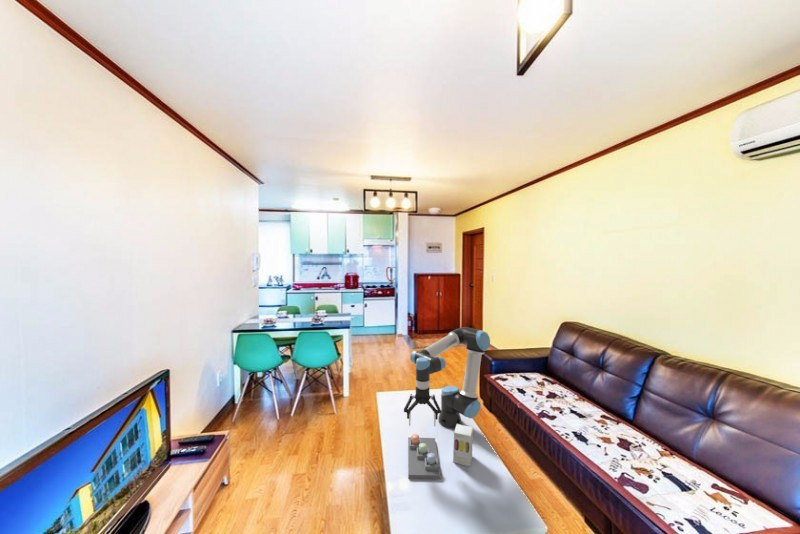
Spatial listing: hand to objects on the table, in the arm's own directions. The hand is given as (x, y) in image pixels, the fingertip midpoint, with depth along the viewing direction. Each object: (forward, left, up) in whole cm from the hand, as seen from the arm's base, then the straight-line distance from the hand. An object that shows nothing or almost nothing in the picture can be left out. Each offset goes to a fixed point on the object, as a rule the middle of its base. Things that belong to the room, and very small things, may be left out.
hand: (422, 424), depth 162 cm
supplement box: (-23, 0, -19) cm, 30 cm away
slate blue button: (-5, +8, -15) cm, 18 cm away
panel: (-1, 0, -19) cm, 19 cm away
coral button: (+3, -8, -15) cm, 17 cm away
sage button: (-1, 0, -15) cm, 15 cm away
